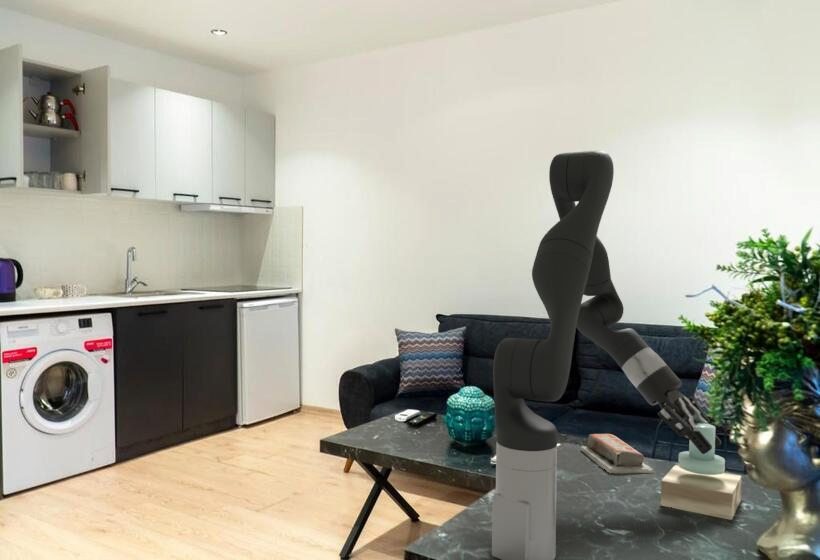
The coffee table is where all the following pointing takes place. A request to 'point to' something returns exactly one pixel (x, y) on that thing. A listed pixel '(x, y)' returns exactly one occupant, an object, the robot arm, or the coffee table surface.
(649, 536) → the coffee table surface
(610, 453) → the packaged product
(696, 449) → the mint green knob
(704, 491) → the block
